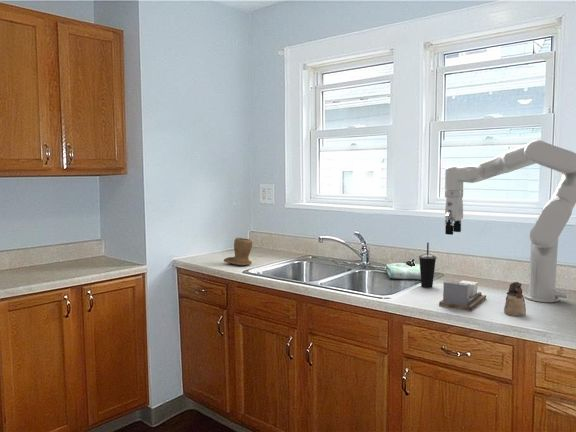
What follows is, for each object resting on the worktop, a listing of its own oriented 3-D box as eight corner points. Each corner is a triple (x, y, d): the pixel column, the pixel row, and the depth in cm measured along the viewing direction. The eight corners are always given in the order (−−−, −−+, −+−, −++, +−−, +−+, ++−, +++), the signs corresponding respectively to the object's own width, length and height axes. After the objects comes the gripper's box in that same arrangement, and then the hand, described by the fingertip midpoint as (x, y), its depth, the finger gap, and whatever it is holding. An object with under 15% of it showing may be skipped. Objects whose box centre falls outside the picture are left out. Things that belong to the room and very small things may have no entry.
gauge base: (485, 299, 197) (485, 292, 196) (470, 311, 181) (470, 304, 180) (456, 294, 204) (456, 288, 204) (439, 305, 188) (439, 298, 188)
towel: (421, 271, 250) (421, 261, 250) (428, 281, 229) (428, 270, 229) (385, 271, 252) (385, 261, 251) (389, 280, 231) (389, 270, 230)
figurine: (519, 310, 181) (520, 279, 180) (529, 316, 174) (531, 284, 172) (500, 311, 180) (501, 279, 179) (510, 317, 173) (511, 284, 172)
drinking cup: (433, 289, 212) (434, 244, 210) (415, 287, 216) (416, 243, 214) (437, 285, 219) (438, 242, 217) (421, 283, 223) (421, 240, 221)
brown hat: (257, 264, 269) (256, 237, 268) (241, 267, 261) (240, 240, 259) (238, 261, 280) (238, 235, 278) (223, 264, 271) (222, 237, 269)
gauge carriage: (477, 294, 197) (477, 282, 197) (469, 299, 189) (470, 287, 189) (455, 291, 202) (456, 279, 202) (447, 296, 194) (448, 284, 194)
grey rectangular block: (469, 304, 184) (469, 284, 183) (466, 306, 182) (467, 285, 181) (445, 300, 189) (446, 280, 188) (443, 302, 187) (443, 282, 186)
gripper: (455, 195, 202) (454, 236, 204) (469, 193, 215) (468, 231, 217) (438, 195, 206) (437, 234, 208) (452, 193, 220) (451, 230, 222)
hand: (453, 233), depth 213 cm, fingers open, 9 cm apart
